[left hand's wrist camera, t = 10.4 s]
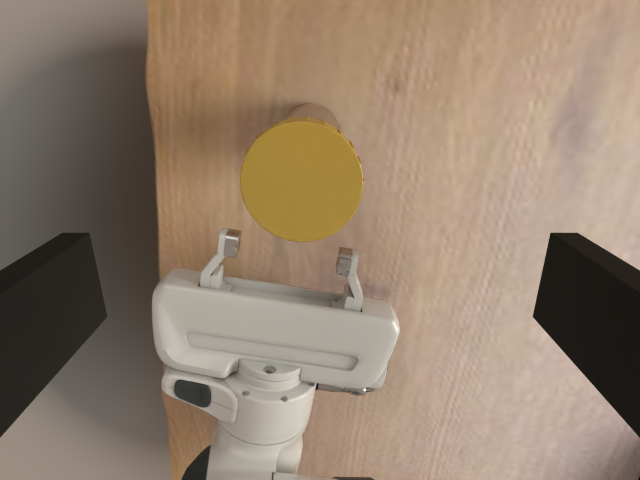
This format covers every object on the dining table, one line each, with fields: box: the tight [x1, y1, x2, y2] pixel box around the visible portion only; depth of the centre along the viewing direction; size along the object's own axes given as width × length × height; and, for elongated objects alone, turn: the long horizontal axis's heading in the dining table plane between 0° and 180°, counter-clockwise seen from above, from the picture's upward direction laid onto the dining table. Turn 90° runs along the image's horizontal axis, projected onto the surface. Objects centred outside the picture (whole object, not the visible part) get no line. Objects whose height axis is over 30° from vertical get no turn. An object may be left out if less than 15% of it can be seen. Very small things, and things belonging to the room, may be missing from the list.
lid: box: [240, 116, 364, 242], centre depth 21 cm, size 6×6×2 cm
